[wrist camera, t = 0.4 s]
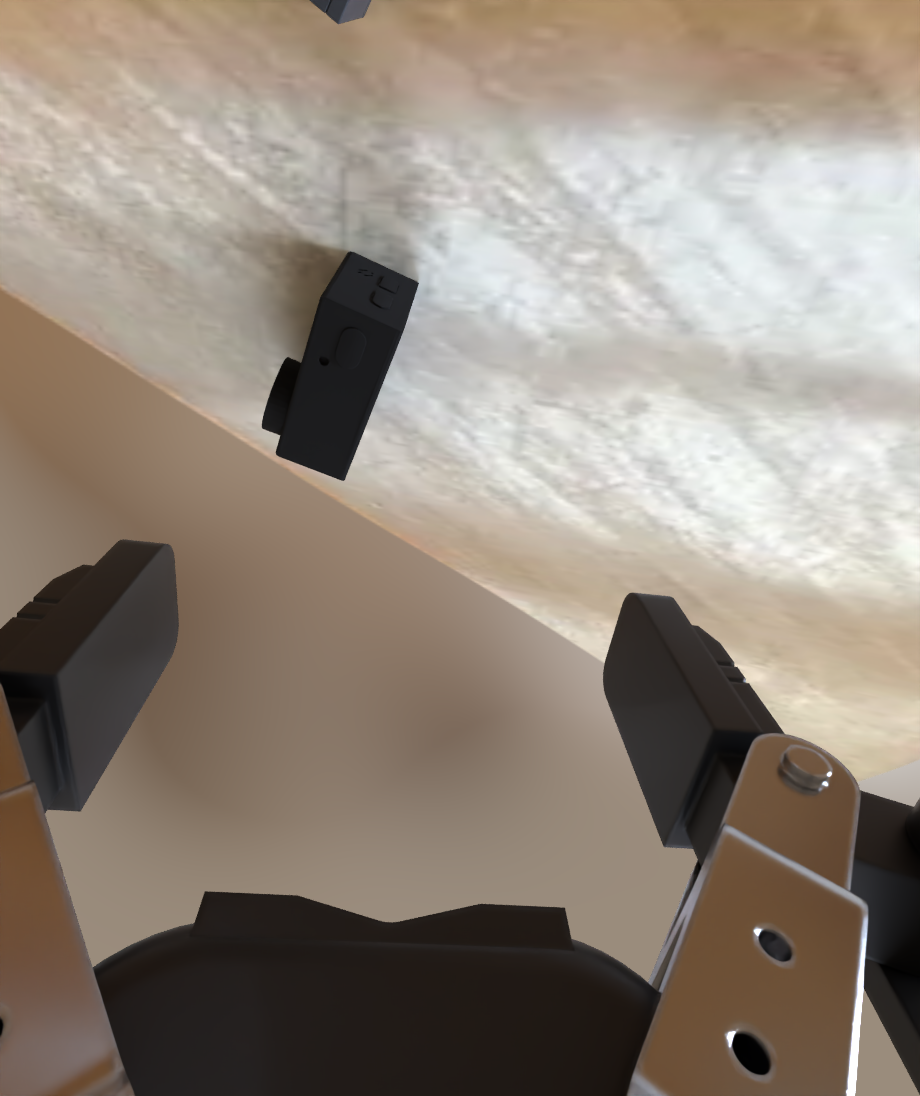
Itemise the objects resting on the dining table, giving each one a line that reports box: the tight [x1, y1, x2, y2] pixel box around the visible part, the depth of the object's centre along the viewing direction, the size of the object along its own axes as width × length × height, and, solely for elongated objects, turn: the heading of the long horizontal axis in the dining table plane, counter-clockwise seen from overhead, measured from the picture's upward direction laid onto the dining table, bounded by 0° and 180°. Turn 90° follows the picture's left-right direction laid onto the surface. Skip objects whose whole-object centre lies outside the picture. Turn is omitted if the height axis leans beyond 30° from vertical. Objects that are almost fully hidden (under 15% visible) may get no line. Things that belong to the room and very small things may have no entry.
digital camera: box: [262, 252, 419, 481], centre depth 37 cm, size 10×5×7 cm, turn 156°
